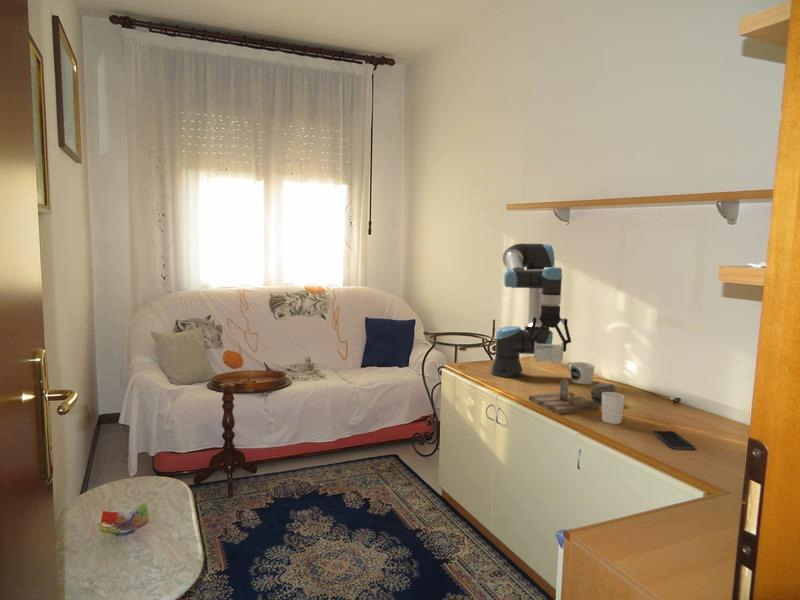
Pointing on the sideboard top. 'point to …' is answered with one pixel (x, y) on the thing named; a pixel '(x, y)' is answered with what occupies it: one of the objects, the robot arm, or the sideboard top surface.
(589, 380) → the mug
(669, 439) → the phone
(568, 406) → the base
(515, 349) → the robot arm
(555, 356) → the grey block
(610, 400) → the white cup
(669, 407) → the sideboard top surface
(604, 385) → the fossil
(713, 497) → the sideboard top surface
